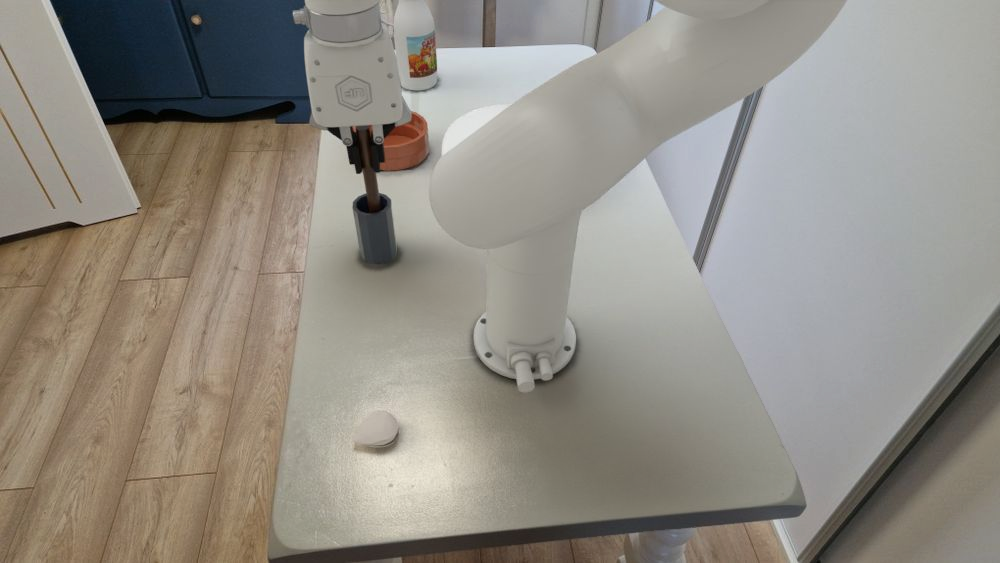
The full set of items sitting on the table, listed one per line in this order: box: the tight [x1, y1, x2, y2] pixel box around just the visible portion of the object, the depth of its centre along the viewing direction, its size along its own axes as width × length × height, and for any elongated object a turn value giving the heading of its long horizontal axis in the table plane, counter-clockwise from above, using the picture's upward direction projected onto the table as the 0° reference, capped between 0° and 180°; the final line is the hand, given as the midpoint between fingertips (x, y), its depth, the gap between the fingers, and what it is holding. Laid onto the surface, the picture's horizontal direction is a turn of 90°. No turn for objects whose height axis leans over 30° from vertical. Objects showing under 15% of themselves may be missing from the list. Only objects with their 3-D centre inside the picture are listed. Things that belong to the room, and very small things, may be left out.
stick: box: [356, 125, 382, 213], centre depth 84 cm, size 2×2×18 cm
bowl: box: [353, 110, 430, 172], centre depth 110 cm, size 12×12×5 cm
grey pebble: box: [352, 409, 400, 448], centre depth 70 cm, size 4×5×2 cm
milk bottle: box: [393, 0, 439, 91], centre depth 123 cm, size 8×8×20 cm
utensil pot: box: [351, 192, 398, 266], centre depth 89 cm, size 5×5×9 cm
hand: (368, 166), depth 82 cm, fingers closed on stick, 1 cm apart
